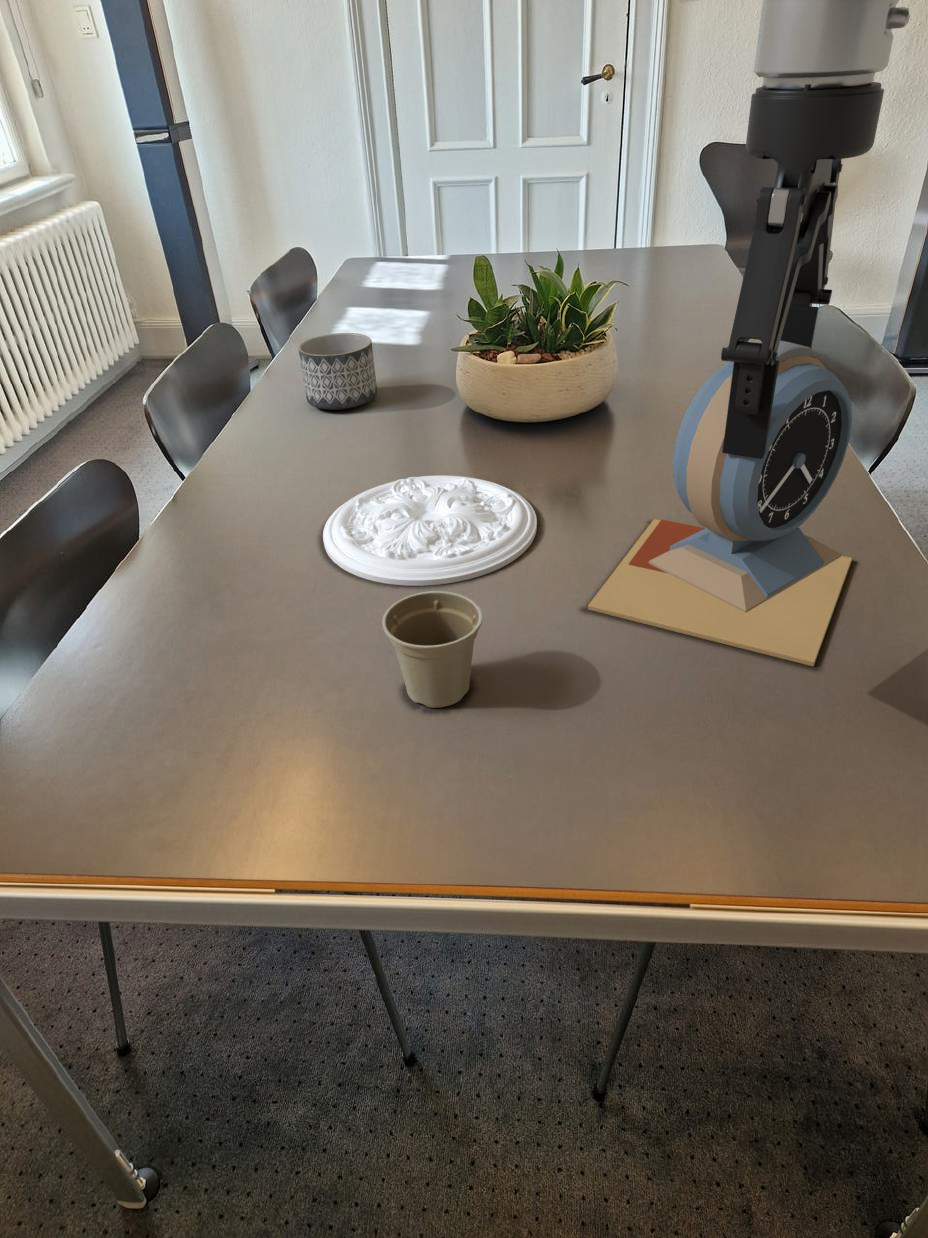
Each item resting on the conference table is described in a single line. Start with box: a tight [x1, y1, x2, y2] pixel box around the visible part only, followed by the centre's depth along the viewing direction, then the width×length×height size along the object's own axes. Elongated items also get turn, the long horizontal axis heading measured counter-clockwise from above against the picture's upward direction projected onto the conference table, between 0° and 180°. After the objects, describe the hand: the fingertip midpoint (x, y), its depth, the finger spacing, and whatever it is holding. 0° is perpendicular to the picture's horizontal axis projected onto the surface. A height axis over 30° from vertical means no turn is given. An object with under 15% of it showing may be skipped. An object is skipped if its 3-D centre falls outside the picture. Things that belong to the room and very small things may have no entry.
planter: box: [297, 332, 378, 411], centre depth 150 cm, size 13×13×10 cm
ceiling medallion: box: [322, 475, 538, 587], centre depth 111 cm, size 28×28×3 cm
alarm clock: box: [649, 341, 853, 613], centre depth 65 cm, size 14×10×18 cm
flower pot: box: [381, 590, 483, 709], centre depth 82 cm, size 9×9×9 cm
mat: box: [587, 518, 853, 667], centre depth 97 cm, size 24×22×1 cm
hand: (765, 420), depth 63 cm, fingers closed on alarm clock, 12 cm apart
